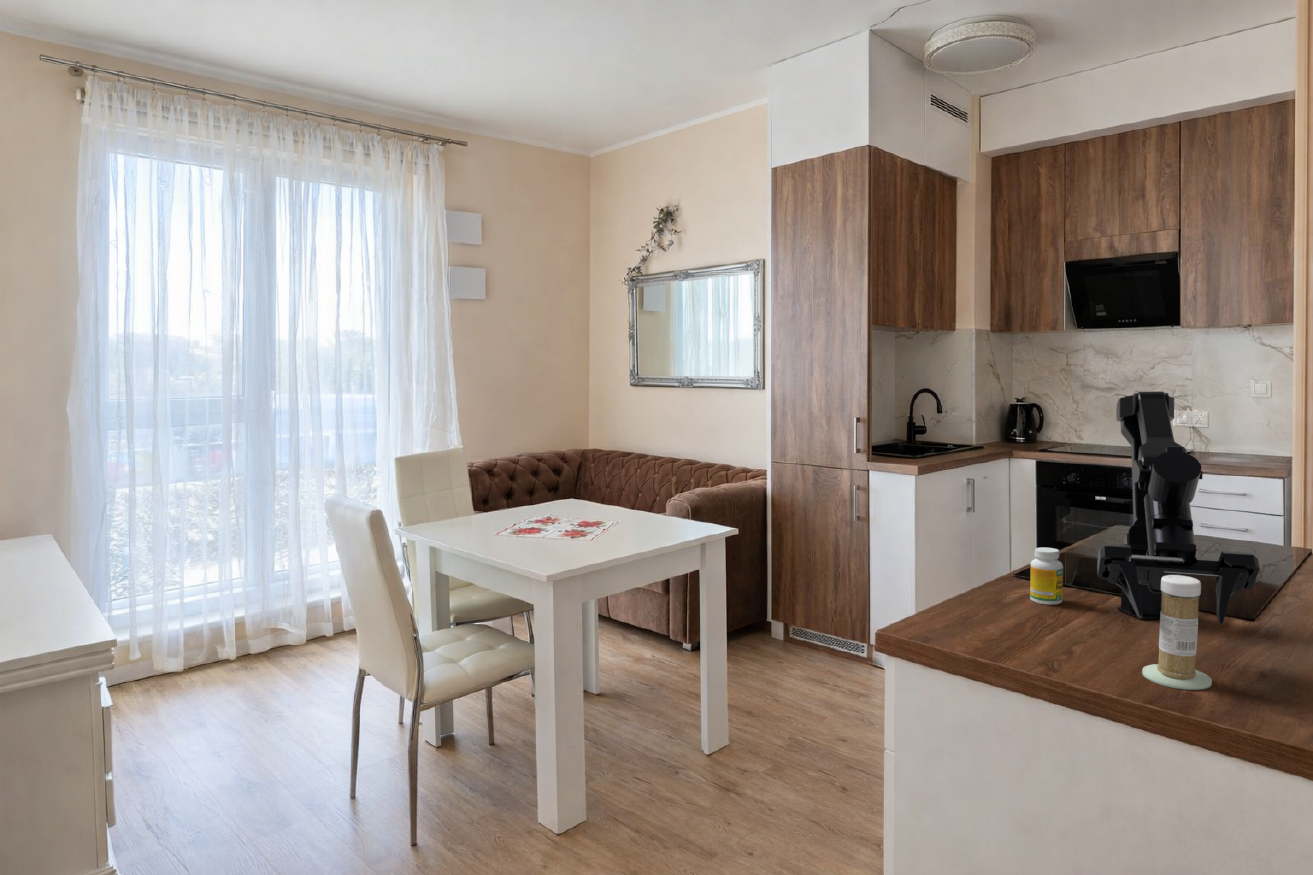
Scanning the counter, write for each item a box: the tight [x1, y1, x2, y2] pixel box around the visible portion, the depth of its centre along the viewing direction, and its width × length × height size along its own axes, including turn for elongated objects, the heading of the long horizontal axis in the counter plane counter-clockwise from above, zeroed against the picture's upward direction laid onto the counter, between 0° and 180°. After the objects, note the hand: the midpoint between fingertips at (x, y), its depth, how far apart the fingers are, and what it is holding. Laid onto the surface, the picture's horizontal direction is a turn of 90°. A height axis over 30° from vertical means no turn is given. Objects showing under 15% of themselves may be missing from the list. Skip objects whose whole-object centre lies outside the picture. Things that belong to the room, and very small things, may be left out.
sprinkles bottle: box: [1157, 575, 1202, 679], centre depth 110 cm, size 5×5×13 cm
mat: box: [1141, 663, 1213, 691], centre depth 110 cm, size 8×8×1 cm
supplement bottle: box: [1029, 546, 1064, 606], centre depth 147 cm, size 5×5×10 cm
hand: (1179, 620), depth 108 cm, fingers open, 9 cm apart
